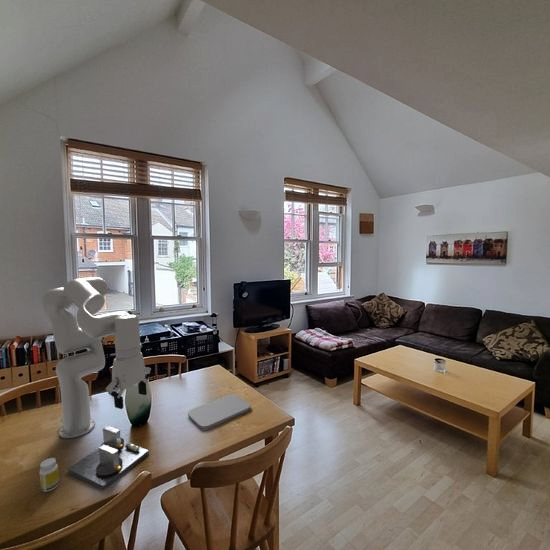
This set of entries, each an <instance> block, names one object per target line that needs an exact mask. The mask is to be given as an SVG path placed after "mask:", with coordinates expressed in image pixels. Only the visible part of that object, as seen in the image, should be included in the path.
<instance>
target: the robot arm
mask: <svg viewBox="0 0 550 550" xmlns="http://www.w3.org/2000/svg"><path fill="white" fill-rule="evenodd" d="M107 293H108V285H107V282H106V281H105V280H104V279H103V278H101V277H98V276H91V277H82V278H73V279H71V280H68V281H67V282H66V283H65V284H64V286H61V287H56V288H51V289H48V290H46V291H45V292H44V293H43V295H42V297H41V304H42V307H43V310H44V312H45V314H46V316H47V317H48V319H49V321H50V324H51V328H52V333H53V338H54V339H53V340H54V342H55V343H54V344H55V348H56V351H57V352H58V353H59V354H61V355H64V354H71V353H75V352H78V351H81V350H85V349H86V350H87V351H85V352H81V353H76V354H73V355H70V356H66V357H64V358H62V359H61V360H60V361H58V362H57V363H56V365H55V373H56V376H57V380H58V384H59V388H60V389H59V390H60V399H61V410H62V411H61V412H62V418H61V419H60V422H62V423H63V426H62V427H61V428H60V430H59V432H58V433H59V437H61V438H62V439H74V438H77V437H79V438H80V437H81V436H85V434H87V433H90V432H91V431H92V430H93V429H94V428H95V427H96V420H95V419H93V418H92V417H91V408H90V407H91V406H90V392H89V385H88V383H87V382H86V381H85V380H83V379H82V378H83V377H86V376H88V375H92V374H94V373H97V372H99V371H102V370H103V369H104V368H105V365H106V358H105V357H106V356H105V353H104V348H103V343H102V338H105V337H108V336H113V335H114V348H115V358H114V359H113V363H112V371H111V382H110V383H109V384H108V385H107V386H106V388H105V391H106V392H107V393H108V395H109V396H111V397H112V398H113V403H114V407H115V408H116V409H119V410H123V409H124V397H123V396H122V395H123V393H124V391H125V390H126V389H128V388H131V387H132V386H135V385H137V387H138V389H137V390H138V395H141V396H142V395H143V396H146V395H147V393H148V392H147V391H148V390H147V383H148V382H149V377H150V376H151V375H150V374H151V370H152V368H151V367H148V366H146V365H145V364H146V363H145V359H144V356H143V355H144V354H143V352H141V350H142V349H141V348H143V344H141V334H140V330H141V329H140V319H139V316H138V315H137V314H130V313H129V312H127V311H124V310H121V311H120V310H119V311H115V312H108V313H103V314H98V315H96V314H97V313H99V312H100V311H101V310H103V309H102V308H103V307H104V306H105V301H106V300H105V296H106V295H107ZM72 307H73V308H74V307H75V308H76V307H77V308H78V309H77V311H76V315H74V313H73V312H71V311H70V310H69V308H72ZM67 308H68V309H67Z"/></svg>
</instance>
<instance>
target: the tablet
mask: <svg viewBox="0 0 550 550" xmlns="http://www.w3.org/2000/svg"><path fill="white" fill-rule="evenodd" d="M250 408H251V403H250V402H248V401H247V400H246V399H243V398H242V397H241V396H239V395H238V394H235V393H231V394H227V395H225V396H221V397H220V398H218V399H215V400H212V401H209V402H207V403H204V404H202V405H199V406H196V407H193V408H192V409H190V410H189V411H187V417H188V418H189V419H190V420H191V421H192V422H193V423H194V424H195V425H197V426H198V427H199V428H200V429H201V430H208V429H211V428H213V427H215V426H217V425H219V424H222V423H223V422H226V421H228V420H231V419H233V418H235V417H238V416H239V415H242V414H244V413H246V412H248V411H249V410H250Z"/></svg>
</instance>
